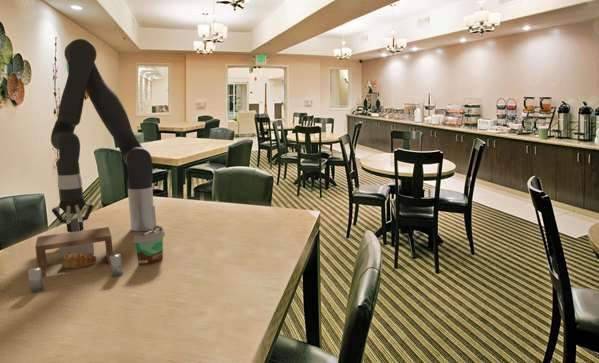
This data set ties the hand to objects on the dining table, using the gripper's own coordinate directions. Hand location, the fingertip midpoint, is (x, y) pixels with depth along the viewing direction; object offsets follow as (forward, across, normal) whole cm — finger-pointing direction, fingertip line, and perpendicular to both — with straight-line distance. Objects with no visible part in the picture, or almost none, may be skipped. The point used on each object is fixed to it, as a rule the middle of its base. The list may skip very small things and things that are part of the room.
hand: (75, 231), depth 147 cm
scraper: (+4, 0, +8) cm, 9 cm away
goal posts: (+4, 0, +40) cm, 40 cm away
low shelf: (+4, 0, +26) cm, 26 cm away
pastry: (+4, 0, +25) cm, 25 cm away
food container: (+4, -22, +34) cm, 41 cm away
